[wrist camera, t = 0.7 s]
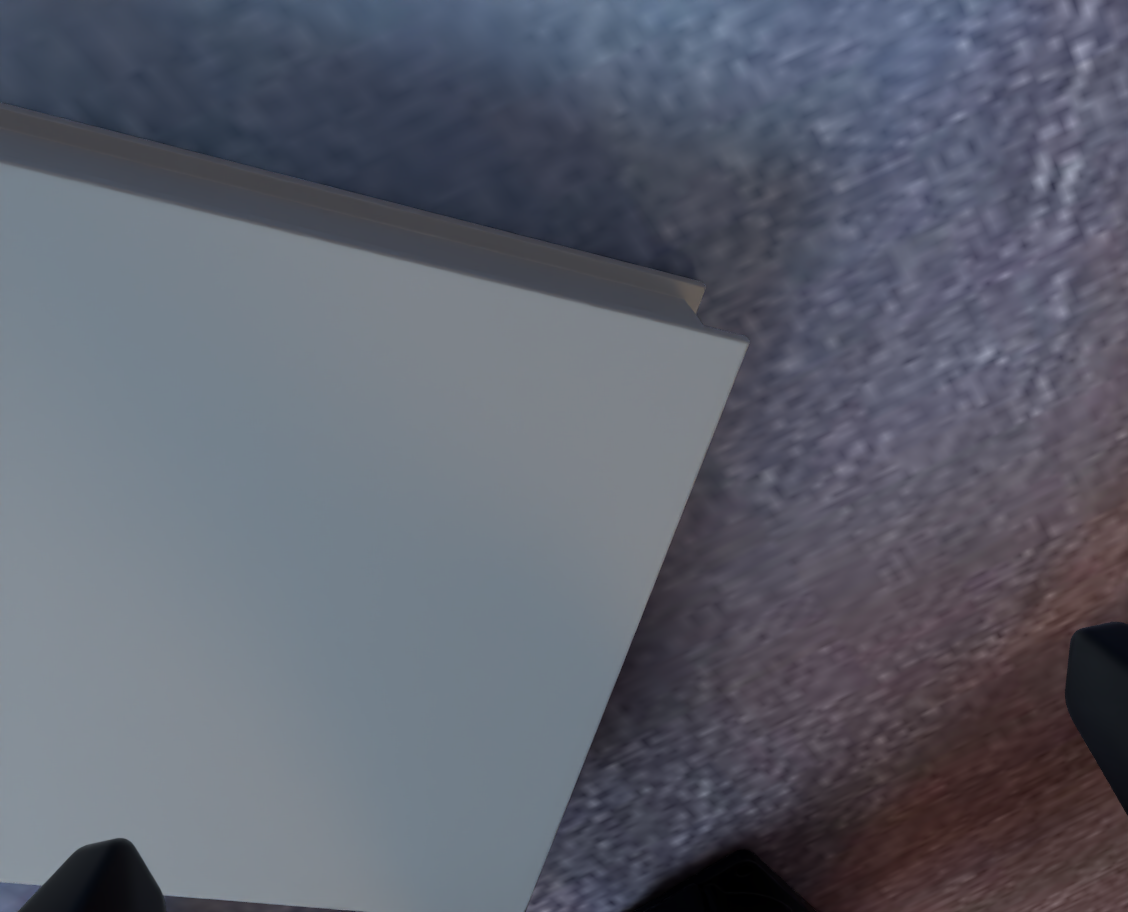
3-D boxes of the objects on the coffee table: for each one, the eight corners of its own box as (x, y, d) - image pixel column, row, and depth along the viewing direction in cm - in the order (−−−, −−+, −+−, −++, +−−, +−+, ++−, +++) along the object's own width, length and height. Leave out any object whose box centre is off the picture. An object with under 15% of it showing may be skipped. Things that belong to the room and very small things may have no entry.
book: (-940, -69, 12) (751, 342, 17) (-634, -62, 15) (701, 280, 21) (-579, 874, 20) (509, 954, 25) (-429, 742, 23) (502, 837, 28)
